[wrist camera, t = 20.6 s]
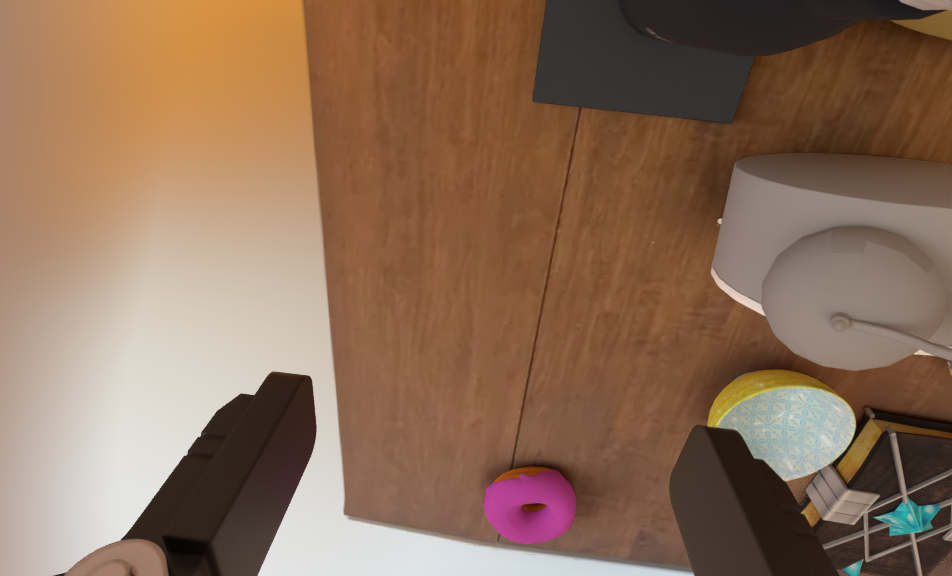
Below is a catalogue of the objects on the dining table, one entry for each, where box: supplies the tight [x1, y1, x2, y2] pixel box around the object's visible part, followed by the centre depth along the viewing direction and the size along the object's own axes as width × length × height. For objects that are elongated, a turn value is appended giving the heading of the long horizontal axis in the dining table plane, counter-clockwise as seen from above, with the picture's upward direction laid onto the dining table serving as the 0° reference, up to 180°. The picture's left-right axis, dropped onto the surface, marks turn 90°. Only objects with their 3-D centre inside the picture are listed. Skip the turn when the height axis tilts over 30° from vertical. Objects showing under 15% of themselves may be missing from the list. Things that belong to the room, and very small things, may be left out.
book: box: [800, 407, 952, 576], centre depth 49 cm, size 22×17×5 cm
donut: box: [484, 467, 576, 544], centre depth 54 cm, size 10×10×5 cm
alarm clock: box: [711, 153, 952, 371], centre depth 27 cm, size 16×9×22 cm, turn 90°
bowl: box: [708, 369, 856, 481], centre depth 43 cm, size 11×12×6 cm
